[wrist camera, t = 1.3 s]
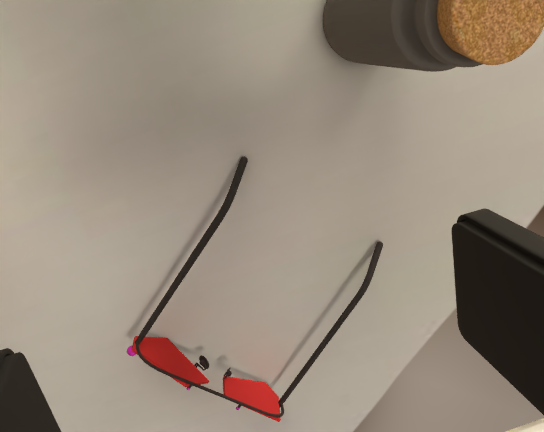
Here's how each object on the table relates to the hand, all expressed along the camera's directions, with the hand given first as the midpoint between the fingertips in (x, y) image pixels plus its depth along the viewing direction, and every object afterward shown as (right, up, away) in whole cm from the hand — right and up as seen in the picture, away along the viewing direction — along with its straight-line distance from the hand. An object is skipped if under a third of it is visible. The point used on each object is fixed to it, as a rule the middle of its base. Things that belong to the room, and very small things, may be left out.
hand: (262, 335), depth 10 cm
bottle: (+6, +16, +24) cm, 30 cm away
